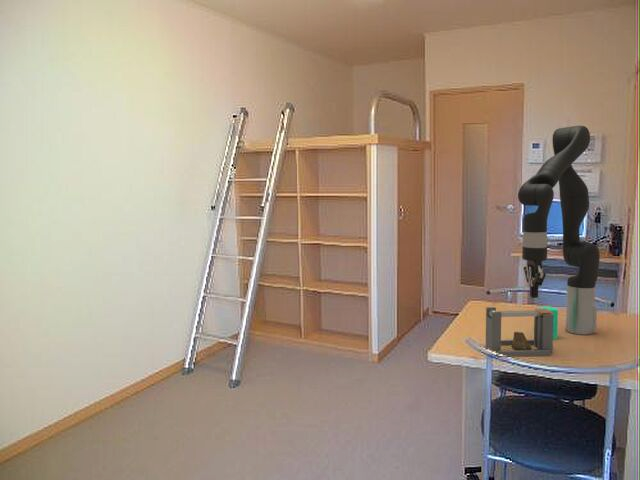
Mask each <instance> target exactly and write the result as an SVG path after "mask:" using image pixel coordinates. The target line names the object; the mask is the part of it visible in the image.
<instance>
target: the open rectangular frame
mask: <svg viewBox="0 0 640 480" xmlns="http://www.w3.org/2000/svg"><path fill="white" fill-rule="evenodd" d="M490 309H494V310H495V311H496V312H491V316H490V315H489V314H488V311H489V310H490ZM533 317H534V320H533V339H527V340H528V342H529V344H530V346H533V347H534V348H536V350H533V349H531V350H502V349H501V348H502V346H512V341H513V339H502V317H501V312H498V311H497V307H495V306H489V307H488V306H487V307H485V348H486V347H487V348H489V349H491V350H493V351H496V352H498V353H499V354H503V355H507V356H506V357H550V356H551V355H552V354H553V349H554V347H553V343H554V339H553V319H554V315H553V314H543V316H533ZM487 348H486V349H487Z"/></svg>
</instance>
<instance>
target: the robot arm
mask: <svg viewBox="0 0 640 480" xmlns="http://www.w3.org/2000/svg"><path fill="white" fill-rule="evenodd" d="M590 142H591V133H590V131H589V129H588V127H586V126H585V125H573V126H566V127H561V128H560V127H559V128H557V129H555V130H554V132H553V134H552V149H553V156H551V157H550V158H549V159H547V160H546V161H545V162H544V163H543V164H542V165H541V167H540V168H539V169H538V171H537V172H536V174H534V175H533V176H531V177H530V178H529V179H528V180H526V181H525V182H524V183H523V184H522V185H521V187H520V188H519V190H518V193H517V197H518V201H519V203H520V204H521V205H523V206H530V207H532V206H534V207H536V206H537V209H536V210H535V212H529V213H526V214H525V215H524V217H523V233H522V242H521V243H522V245H521V246H522V247H521V248H522V249H521V253H522V254H521V257H522V260H524V261H526V265H525V266H523V272H524V276H525V280H526V283H528V285H529V297H530V298H532V299H533V298H534V299H537V298H539V287H541V286H542V285H543V284H544V280H545V278H546V276H547V273H546V272H545V271H543V262H544V261H546V260H547V259H548V218H549V213H550V210H551V206H552V203H553V201H554V195H555V192H554V188H555V187H556V186H557V183H558V186H559V187H558V188H559V202H560V203H559V204H560V209H561V219H562V220H561V223H562V257H563V260H564V262H565V264H566V265H568V266H570V267H575V268H578V273H577V274H576V275H571V276H568V278H567V282H566V283H567V284H566V285H567V286H566V312H565V314H566V316H565V331H567V332H568V333H572V334H575V335H592V334H596V333H597V318H598V316H597V315H598V308H597V307H596V305H595V304H596V285H597V284H596V283H597V280H598V277H599V267H600V259H601V258H600V253H601V252H600V249H599V248H598V246H597V245H596V244H595V243H589V242H582V241H581V238H580V228H581V225H582V223H583V221H584V219H585V217H586V215H587V214H588V211H589V209H590V199H589V198H590V197H589V189H588V185H587V184H586V183H585V181H584V179H582V178H581V176H580V175H579V174H578V173H577V171H576V170H575V169H574V167H573V165H572V164H573V163H574V162H575V161H576V160H577V159H578V158H579V157H580V156H581V155H583V153H585V151H587V149H588V147H589V146H590Z"/></svg>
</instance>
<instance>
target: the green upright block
mask: <svg viewBox="0 0 640 480" xmlns="http://www.w3.org/2000/svg"><path fill="white" fill-rule="evenodd" d="M539 309H548V310H550V311H551V312H553V315H554V319H553V340H557V339H558V328H559V327H558V321H559V318H558V317H559V309H558V308H557V307H556V308H555V307H554V306H553V307H552V306H541V307H539Z"/></svg>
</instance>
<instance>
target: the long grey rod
mask: <svg viewBox="0 0 640 480" xmlns="http://www.w3.org/2000/svg"><path fill="white" fill-rule="evenodd" d="M491 312H501V318H508V317H509V318H511V317H512V318H514V317H517V318H518V317H523V318H524V317H534V316H543V314H553V312H551V311H550V310H548V309H540V308H534V310H533V309H532V310H498V311H497V310H496V311H495V310H494V309H490V310H489V311H488V314H489V315H490V316H491Z"/></svg>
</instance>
